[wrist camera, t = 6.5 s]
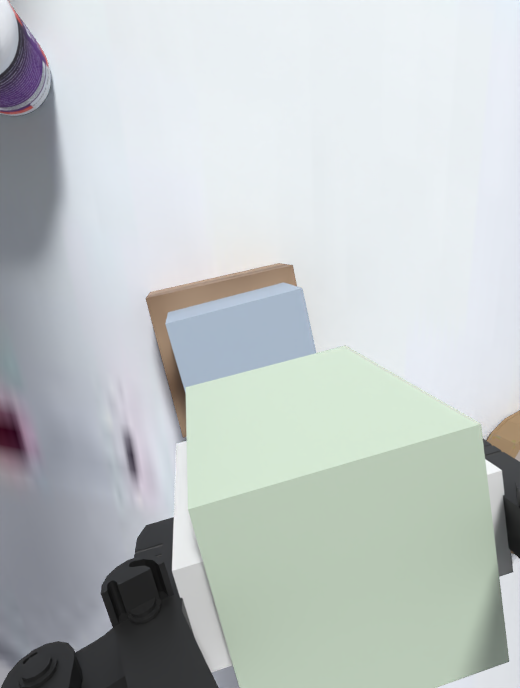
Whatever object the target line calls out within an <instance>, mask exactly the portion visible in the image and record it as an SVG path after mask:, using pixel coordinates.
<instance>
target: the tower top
mask: <svg viewBox="0 0 520 688" xmlns="http://www.w3.org/2000/svg"><path fill="white" fill-rule="evenodd" d="M165 325H166V328H167V332H168V335H169V338H170V342H171V345H172V349H173V352H174V356H175V359H176V362H177V366H178V369H179V373H180V376H181V380H182V383H183V386H184V390H185V393H186V387H189V386H193V385H196V384H200V383H204V382H208V381H212V380H216V379H219V378H223V377H227V376H231V375H235V374H239V373H242V372H246V371H250V370H254V369H258V368H262V367H265V366H269V365H273V364H277V363H281V362H285V361H288V360H292V359H296V358H300V357H304V356H308V355H311V354H315V353H316V350H315V345H314V340H313V336H312V331H311V326H310V322H309V317H308V313H307V308H306V303H305V299H304V294H303V289H302V288H300V287H297V286H294V285H291V284H287V283H284V282H283V283H279V284H275V285H272V286H268V287H264V288H260V289H256V290H252V291H248V292H245V293H241V294H237V295H233V296H229V297H225V298H221V299H217V300H214V301H210V302H206V303H202V304H198V305H194V306H190V307H186V308H183V309H179V310H175V311H171V312H168V315H167V319H166V323H165Z"/></svg>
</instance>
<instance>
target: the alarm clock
mask: <svg viewBox="0 0 520 688" xmlns="http://www.w3.org/2000/svg"><path fill="white" fill-rule="evenodd" d="M487 442H489V443H491V445H492V446H493V445H494V446H495V447H497V448H499V449H500V450H501V451H502V452H505V453H507V454H508V455H510V456H511V457H513V458H515V459H516V460H518V461H519V462H520V411H518V412H516V413H514V414H513V415H511V416H509V417H507V418H505V419H504V420H503V421H502V422H501V423H500V424H499V425H498V426H497V427H496V428H495V429H494V430H493V431H492V432H491V434H490V436H489V437H488V439H487ZM511 553H513V552H512V551H511ZM513 554H514V553H513Z"/></svg>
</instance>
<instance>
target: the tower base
mask: <svg viewBox="0 0 520 688" xmlns="http://www.w3.org/2000/svg"><path fill="white" fill-rule="evenodd" d="M283 282H284V283H287V284H291V285H294V286H297V285H296V279H295V274H294V269H293V265H287V264H280V263H278V264H274V265H269V266H265V267H260V268H256V269H251V270H247V271H242V272H238V273H233V274H229V275H225V276H220V277H216V278H211V279H207V280H202V281H198V282H193V283H189V284H184V285H180V286H175V287H171V288H167V289H162V290H158V291H153V292H150V293H149V295H148V296H147V297H146V302H147V305H148V309H149V313H150V316H151V320H152V324H153V328H154V331H155V335H156V339H157V343H158V346H159V350H160V354H161V358H162V361H163V365H164V369H165V372H166V376H167V380H168V384H169V387H170V391H171V395H172V399H173V402H174V406H175V410H176V413H177V417H178V421H179V425H180V428H181V432H182V436H183V437H186V393H185V390H184V386H183V383H182V380H181V376H180V373H179V369H178V366H177V362H176V359H175V356H174V352H173V349H172V345H171V342H170V338H169V335H168V332H167V328H166V325H165V323H166V319H167V315H168V312H171V311H175V310H179V309H183V308H186V307H190V306H194V305H198V304H202V303H206V302H210V301H214V300H217V299H221V298H225V297H229V296H233V295H237V294H241V293H245V292H248V291H252V290H256V289H260V288H264V287H268V286H272V285H275V284H279V283H283Z"/></svg>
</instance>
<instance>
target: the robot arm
mask: <svg viewBox="0 0 520 688" xmlns="http://www.w3.org/2000/svg"><path fill="white" fill-rule="evenodd" d="M483 445H484V454H485V462H486V471H487V479H488V487H489V496H490V504H491V513H492V521H493V530H494V538H495V546H496V555H497V563H498V572H499V576H502V575H506V574H509V573H512V572H513V567H512V558H511V551H512V552H513V553H514V554H515V555H517V556H518V557H519V558H520V462H519V461H518V460H516V459H515V458H513V457H511V456H510V455H508V454H507V453H505V452H502V451H501V450H500V449H499V448H497V447H495V446H494V445H493V446H492V445H491V443H489V442H487V441H486V440H484V439H483ZM101 595H102V598H103V601H104V604H105V606H106V609H107V612H108V615H109V618H110V621H111V623H112V626H113V628H112V629H111V630H110V631H109V632H107V633H106V634H105V635H104V636H102V637H101V638H99V639H98V640H96V641H95V642H93V643H91V644H90V645H88V646H86V647H84V648H83V649H81V650H79V651H77V652H76V653H75V651H74V649H73V648H72V647H71V646H70V645H69V644H68V643H65V642H59V641H58V642H53V643H49V644H45V645H43V646H41V647H39V648H37V649H35V650H33V651H32V652H30V653H29V654H28V655H26V656H25V657H24V658H22V659H21V660H20V661H19V662H18V663H17V664H16V665H15V666H14V667H13V669H12V670H11V671H10V672H9V673H8V675H7V677H6V679H5V681H4V683H3V685H2V687H1V688H218V686H217V684H216V682H215V680H214V678H213V675H212V672H215V671H218V670H221V669H224V668H227V667H230V666H233V663H232V660H231V657H230V653H229V650H228V646H227V643H226V639H225V636H224V632H223V629H222V625H221V622H220V619H219V615H218V612H217V608H216V605H215V601H214V598H213V594H212V591H211V587H210V584H209V580H208V577H207V574H206V570H205V567H204V563H203V560H202V556H201V553H200V549H199V546H198V542H197V539H196V535H195V532H194V529H193V525H192V522H191V518H190V515H189V511H188V487H187V441H184V442H180V443H176V465H175V495H174V517H173V518H170V519H166V520H163V521H159V522H156V523H152V524H149V525H146V526H145V528H144V529H143V531H142V532H141V534H140V535H139V537H138V538H137V542H136V549H135V555H134V558H133V559H130V560H127V561H126V562H124V563H122V564H121V565H119V566H118V567H116V568H115V569H114V570H113V571H112V572H111V573H110V574H109V575H108V576H107V577H106V579H105V581H104V582H103V584H102V588H101Z"/></svg>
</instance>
